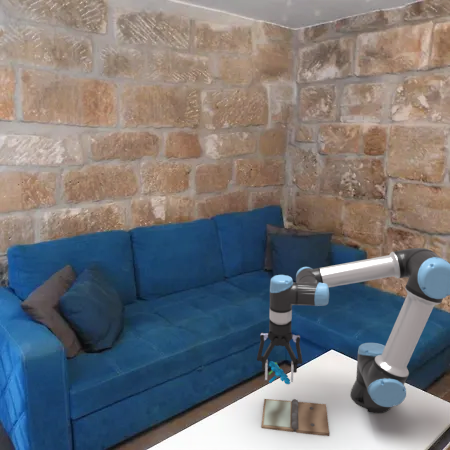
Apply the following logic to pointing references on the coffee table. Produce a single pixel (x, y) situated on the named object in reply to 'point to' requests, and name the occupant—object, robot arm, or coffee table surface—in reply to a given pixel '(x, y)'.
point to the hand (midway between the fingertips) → (279, 378)
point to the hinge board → (295, 417)
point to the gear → (278, 373)
